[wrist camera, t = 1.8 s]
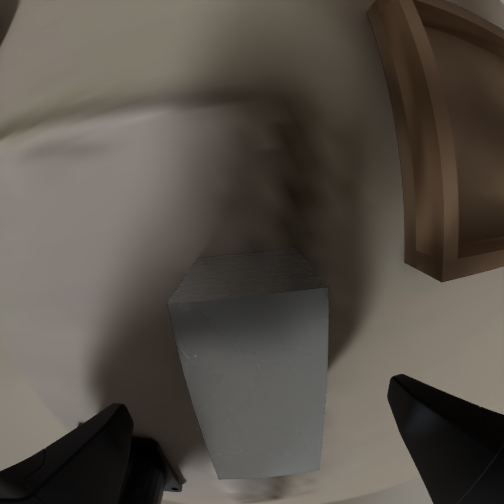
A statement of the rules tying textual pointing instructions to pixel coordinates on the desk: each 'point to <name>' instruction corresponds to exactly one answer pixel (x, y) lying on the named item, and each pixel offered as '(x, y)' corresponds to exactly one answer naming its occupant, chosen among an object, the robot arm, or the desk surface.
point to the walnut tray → (446, 132)
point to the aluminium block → (255, 360)
